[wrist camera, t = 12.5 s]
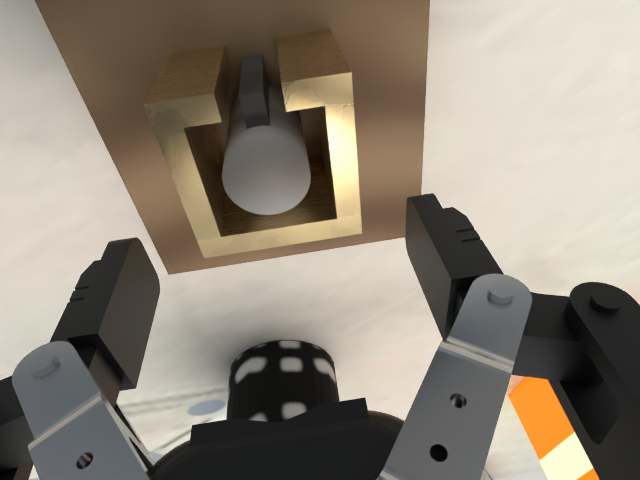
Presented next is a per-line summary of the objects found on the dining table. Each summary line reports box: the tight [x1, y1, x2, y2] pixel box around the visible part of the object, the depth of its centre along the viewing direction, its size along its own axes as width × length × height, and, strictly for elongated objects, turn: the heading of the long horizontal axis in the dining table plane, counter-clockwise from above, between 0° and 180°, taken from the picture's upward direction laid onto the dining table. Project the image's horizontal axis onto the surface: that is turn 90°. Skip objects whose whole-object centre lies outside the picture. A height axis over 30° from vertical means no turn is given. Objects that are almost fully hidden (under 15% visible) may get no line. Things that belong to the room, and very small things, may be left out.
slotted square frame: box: [143, 29, 362, 258], centre depth 16 cm, size 6×6×5 cm
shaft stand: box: [35, 0, 430, 275], centre depth 17 cm, size 16×14×7 cm
